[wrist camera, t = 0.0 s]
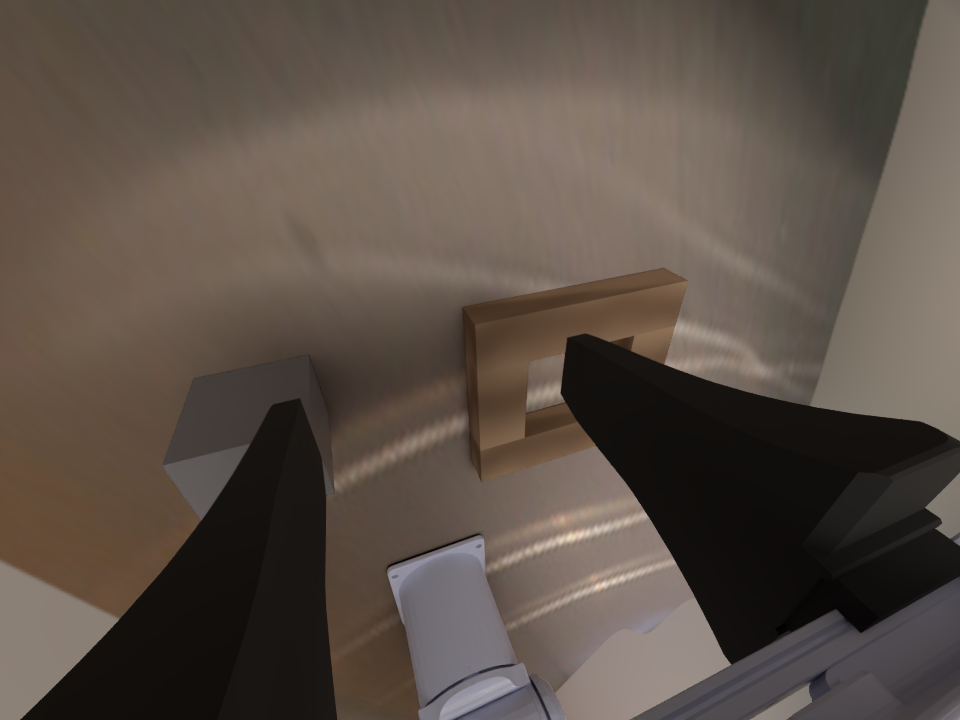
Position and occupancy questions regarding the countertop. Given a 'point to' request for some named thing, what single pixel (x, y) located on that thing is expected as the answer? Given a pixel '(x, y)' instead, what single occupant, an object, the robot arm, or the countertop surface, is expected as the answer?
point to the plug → (239, 424)
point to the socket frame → (541, 333)
